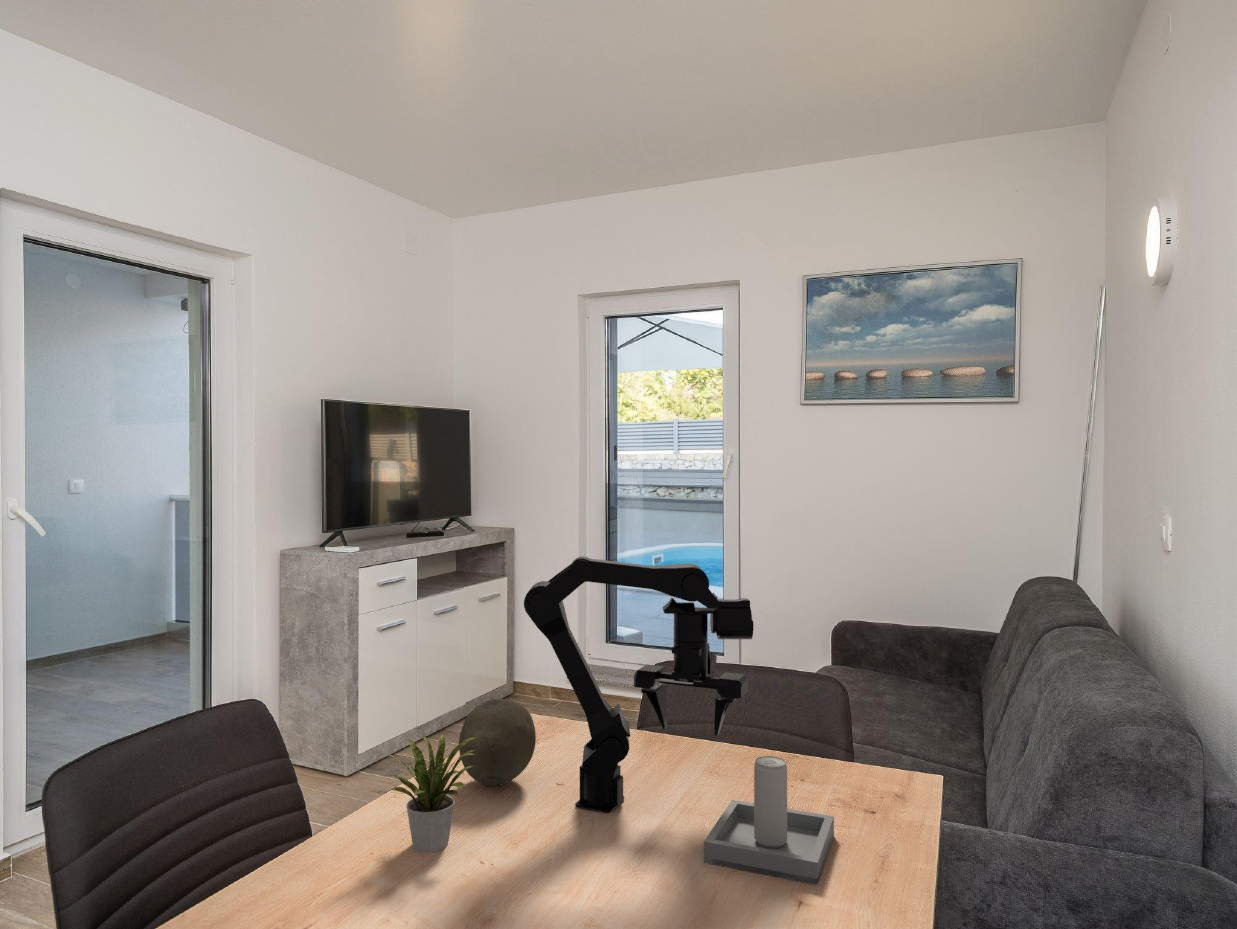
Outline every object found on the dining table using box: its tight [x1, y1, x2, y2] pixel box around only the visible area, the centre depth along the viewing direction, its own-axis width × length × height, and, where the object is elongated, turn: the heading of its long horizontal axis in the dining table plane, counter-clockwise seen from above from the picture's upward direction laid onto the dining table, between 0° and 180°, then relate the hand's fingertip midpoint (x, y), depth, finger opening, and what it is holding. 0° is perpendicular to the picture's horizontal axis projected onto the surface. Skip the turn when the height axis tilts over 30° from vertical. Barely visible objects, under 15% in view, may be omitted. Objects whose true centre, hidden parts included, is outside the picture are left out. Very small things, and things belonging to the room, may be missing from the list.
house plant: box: [385, 732, 477, 854], centre depth 120 cm, size 14×14×16 cm
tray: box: [703, 799, 835, 886], centre depth 118 cm, size 16×16×3 cm
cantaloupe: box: [458, 698, 537, 787], centre depth 142 cm, size 14×14×15 cm
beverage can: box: [753, 755, 788, 848], centre depth 119 cm, size 5×5×12 cm
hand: (690, 732), depth 135 cm, fingers open, 9 cm apart
